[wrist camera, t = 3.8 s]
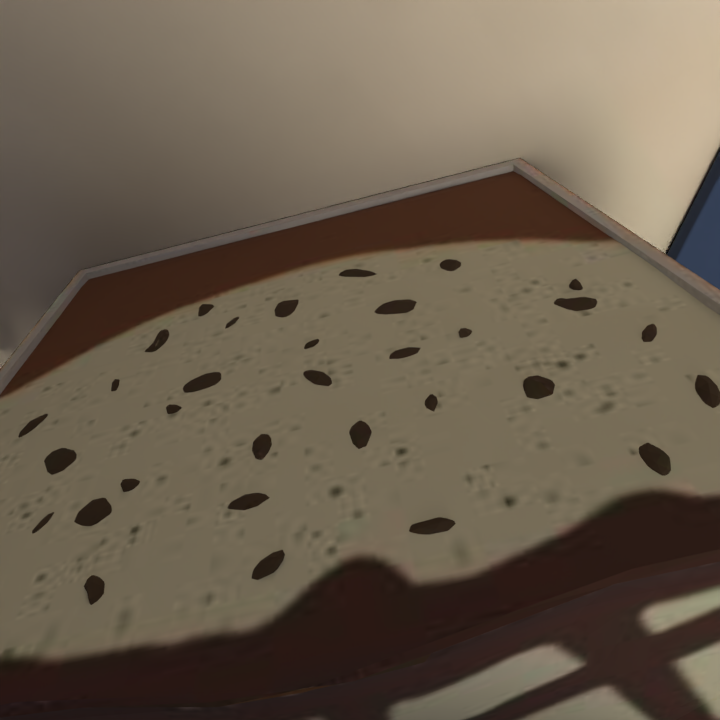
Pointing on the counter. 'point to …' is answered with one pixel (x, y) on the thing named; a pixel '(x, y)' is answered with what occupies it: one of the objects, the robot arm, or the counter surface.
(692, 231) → the cloth
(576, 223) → the food container
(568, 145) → the counter surface
